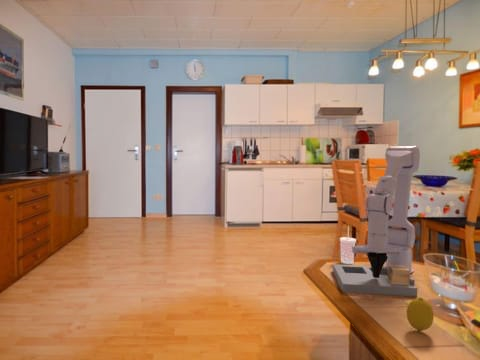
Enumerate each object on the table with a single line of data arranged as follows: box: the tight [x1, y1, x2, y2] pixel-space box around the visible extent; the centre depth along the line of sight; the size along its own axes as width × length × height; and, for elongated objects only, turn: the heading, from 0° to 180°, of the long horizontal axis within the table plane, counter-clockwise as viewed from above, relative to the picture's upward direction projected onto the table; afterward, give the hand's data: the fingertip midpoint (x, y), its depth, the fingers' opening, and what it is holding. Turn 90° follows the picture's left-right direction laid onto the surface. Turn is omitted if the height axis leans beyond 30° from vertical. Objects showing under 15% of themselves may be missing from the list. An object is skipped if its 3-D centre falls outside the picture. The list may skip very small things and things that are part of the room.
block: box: [387, 265, 411, 284], centre depth 111 cm, size 5×5×4 cm
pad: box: [385, 276, 411, 285], centre depth 111 cm, size 7×6×1 cm
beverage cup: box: [339, 225, 357, 265], centre depth 138 cm, size 6×6×14 cm
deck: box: [332, 263, 418, 297], centre depth 116 cm, size 20×21×4 cm
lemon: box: [406, 296, 434, 333], centre depth 84 cm, size 6×6×8 cm
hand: (375, 276), depth 112 cm, fingers closed
